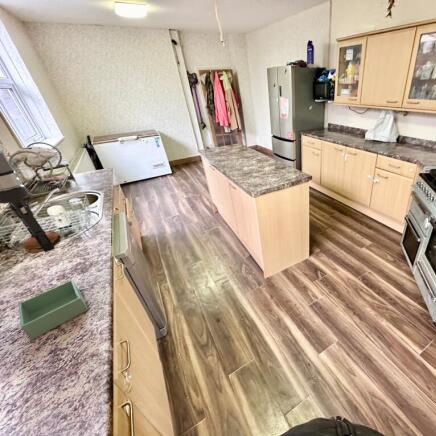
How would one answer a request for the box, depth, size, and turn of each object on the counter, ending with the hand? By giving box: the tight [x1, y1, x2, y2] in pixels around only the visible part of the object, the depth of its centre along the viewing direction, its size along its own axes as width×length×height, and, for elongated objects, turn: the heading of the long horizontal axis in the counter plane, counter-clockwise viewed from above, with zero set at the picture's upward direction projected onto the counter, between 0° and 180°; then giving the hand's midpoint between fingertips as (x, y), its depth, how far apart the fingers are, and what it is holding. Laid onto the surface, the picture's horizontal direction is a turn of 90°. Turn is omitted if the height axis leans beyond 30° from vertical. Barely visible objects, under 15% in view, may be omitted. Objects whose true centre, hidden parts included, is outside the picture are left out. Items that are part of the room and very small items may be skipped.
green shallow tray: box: [18, 279, 89, 340], centre depth 75 cm, size 14×14×6 cm
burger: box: [22, 230, 63, 255], centre depth 83 cm, size 10×9×5 cm
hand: (45, 245), depth 84 cm, fingers closed on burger, 10 cm apart
